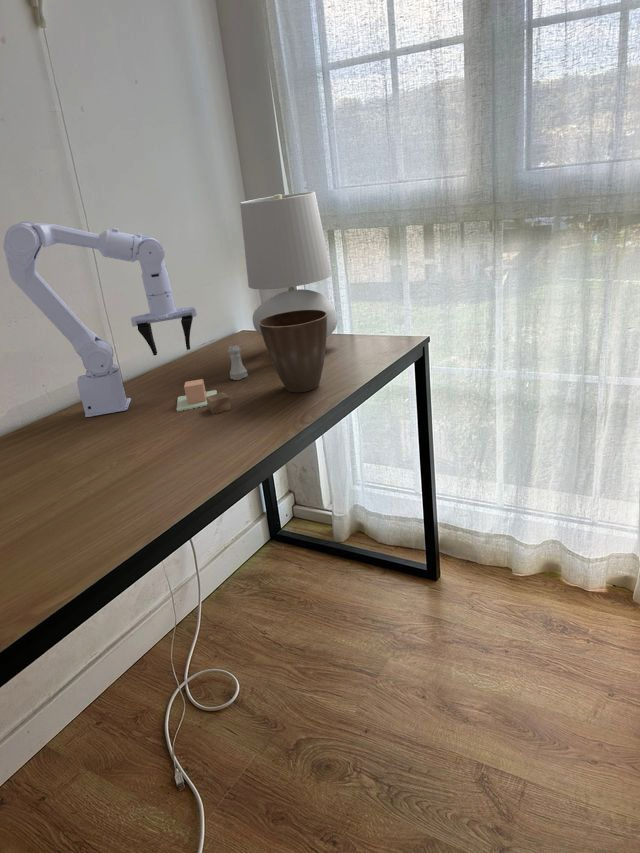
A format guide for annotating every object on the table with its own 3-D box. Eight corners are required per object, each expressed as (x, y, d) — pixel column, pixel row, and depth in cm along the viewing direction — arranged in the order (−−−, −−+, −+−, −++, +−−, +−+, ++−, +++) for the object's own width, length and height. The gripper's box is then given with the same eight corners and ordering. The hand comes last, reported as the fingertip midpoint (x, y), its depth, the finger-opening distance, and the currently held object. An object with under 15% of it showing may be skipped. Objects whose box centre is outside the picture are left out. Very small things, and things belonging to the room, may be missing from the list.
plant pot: (296, 374, 160) (286, 308, 154) (348, 378, 152) (340, 309, 146) (257, 395, 149) (244, 325, 143) (311, 401, 141) (300, 327, 135)
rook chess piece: (251, 374, 165) (246, 343, 162) (242, 380, 161) (236, 348, 159) (236, 374, 167) (230, 343, 164) (226, 380, 163) (220, 349, 160)
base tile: (177, 414, 147) (176, 409, 147) (179, 401, 155) (177, 396, 155) (218, 407, 148) (217, 402, 147) (217, 394, 156) (216, 389, 156)
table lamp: (244, 365, 174) (214, 205, 159) (273, 341, 193) (249, 196, 178) (328, 361, 167) (305, 193, 152) (350, 337, 185) (331, 185, 171)
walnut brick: (213, 414, 142) (210, 401, 141) (208, 409, 146) (205, 396, 144) (231, 409, 143) (228, 396, 142) (226, 405, 147) (223, 392, 146)
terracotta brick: (187, 404, 149) (184, 387, 147) (189, 398, 153) (185, 381, 151) (205, 401, 149) (202, 384, 148) (206, 395, 153) (203, 379, 151)
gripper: (124, 301, 145) (138, 361, 150) (190, 290, 146) (203, 350, 151) (127, 295, 152) (141, 353, 157) (191, 285, 153) (203, 343, 158)
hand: (172, 351), depth 155 cm, fingers open, 7 cm apart
